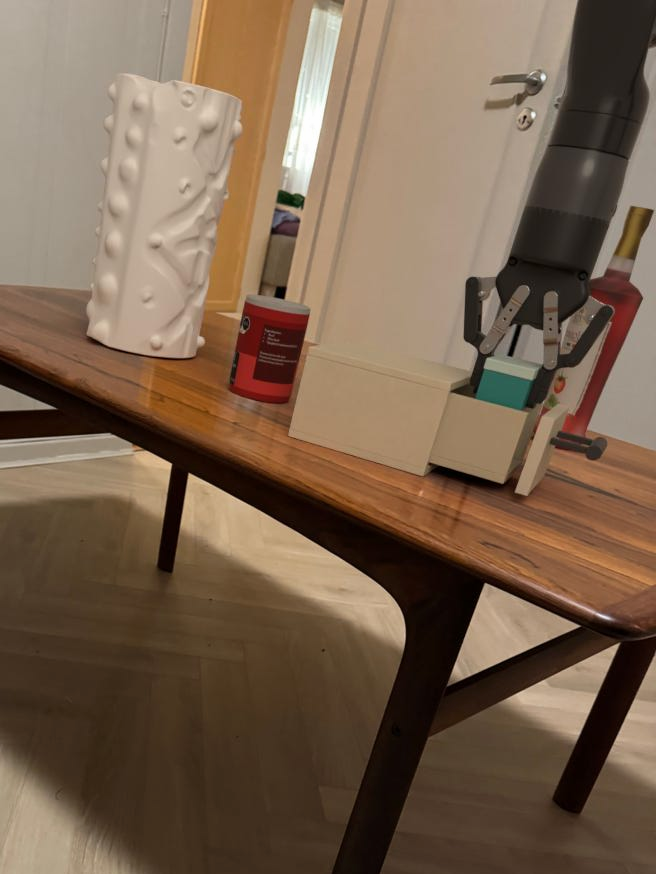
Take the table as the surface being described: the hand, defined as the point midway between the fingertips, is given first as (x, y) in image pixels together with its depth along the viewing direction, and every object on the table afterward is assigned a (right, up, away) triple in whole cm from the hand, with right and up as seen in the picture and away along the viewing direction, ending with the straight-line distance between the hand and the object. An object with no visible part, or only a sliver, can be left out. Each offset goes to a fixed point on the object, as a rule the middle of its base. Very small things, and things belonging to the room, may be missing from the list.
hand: (504, 399), depth 88 cm
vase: (-37, +18, +39) cm, 57 cm away
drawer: (0, -7, +3) cm, 7 cm away
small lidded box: (0, 0, 0) cm, 0 cm away
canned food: (-22, +6, +23) cm, 32 cm away
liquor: (+17, +2, +29) cm, 33 cm away
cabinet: (-11, -3, +8) cm, 14 cm away
